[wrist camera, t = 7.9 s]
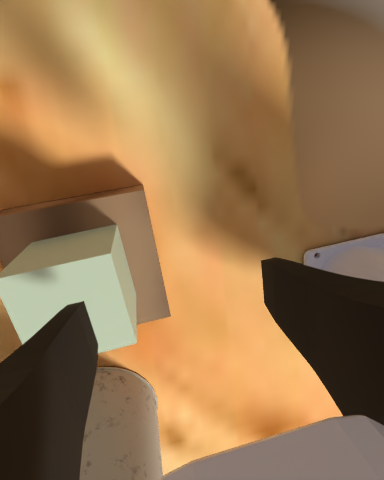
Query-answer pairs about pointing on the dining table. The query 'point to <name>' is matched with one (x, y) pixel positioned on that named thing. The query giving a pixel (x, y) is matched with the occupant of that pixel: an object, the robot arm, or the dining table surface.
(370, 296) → the robot arm
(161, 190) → the dining table surface
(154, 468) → the grey cylinder
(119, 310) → the sage cube
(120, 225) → the walnut slab
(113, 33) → the dining table surface
